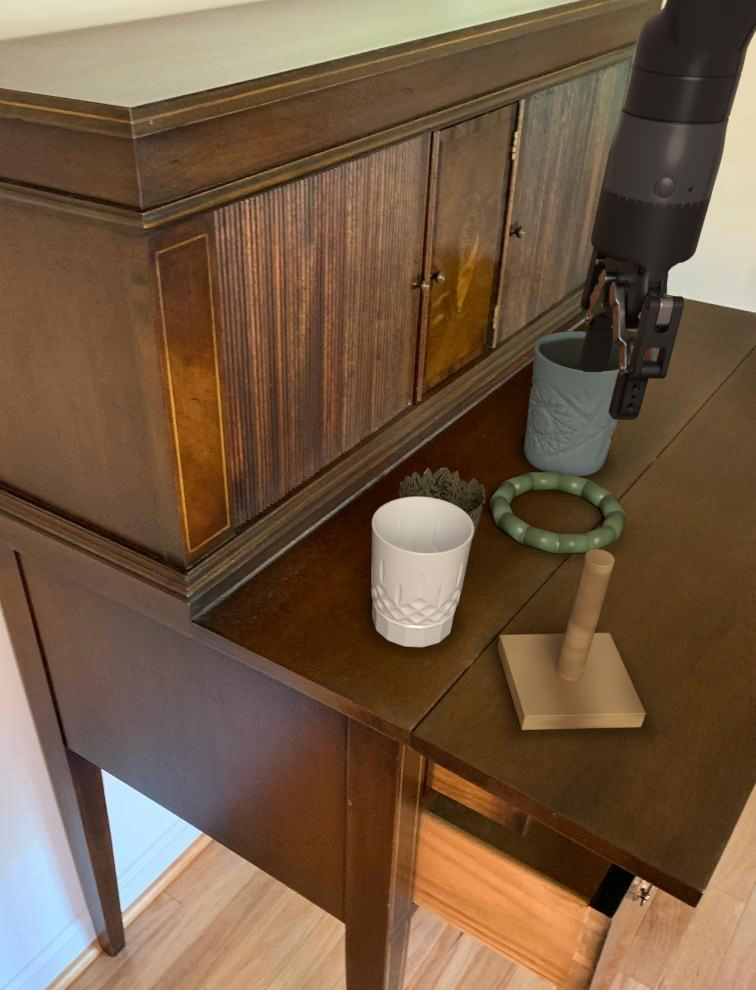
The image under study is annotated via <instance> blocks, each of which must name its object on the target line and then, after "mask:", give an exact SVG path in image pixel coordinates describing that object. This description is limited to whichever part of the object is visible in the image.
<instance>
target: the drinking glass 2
mask: <svg viewBox="0 0 756 990" xmlns="http://www.w3.org/2000/svg"><path fill="white" fill-rule="evenodd" d="M585 336H586V331H582V330H581V331H579V330H578V331H576V330H573V331H572V330H571V331H560V332H555V333H550V334H547V335H545V336H542V337H541V338H539V339H538V340H537V341H536V342H535V344H534V347H533V348H534V349H533V350H534V351H533V362H532V376H531V384H532V386H531V388H530V391H529V392H530V393H529V399H528V410H527V418H526V419H527V420H526V429H525V437H524V446H523V453H524V456H525V458H526V460H527V461H528V462H529V463H530V465H532V466H533V467H535V468H536V469H538V470H540V471H541V472H561V473H565V474H569V475H573V476H577V477H584V476H589V475H592V474H594V473H597V472H598V471H599V470H600V469H602V468H603V466H604V464H605V462H606V459H607V456H608V453H609V450H610V448H611V445H612V436H613V435H614V433H615V430H616V428H617V425H618V422H619V420H614V419H612V417H611V416H610V414H609V406H610V402H611V398H612V394H613V390H614V386H615V382H616V378H617V374H618V372H619V348H618V346H616V345H615V344H614V343H613V344H612V348H611V353H610V357H609V361H608V365H607V368H606V370H605V371H603V372H584V371H582V369H581V367H580V365H579V363H580V359H581V354H582V349H583V345H584V340H585ZM633 347H634V346H631V356H632V352H633Z"/></svg>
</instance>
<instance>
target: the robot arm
mask: <svg viewBox="0 0 756 990" xmlns="http://www.w3.org/2000/svg"><path fill="white" fill-rule="evenodd" d="M755 34H756V0H666V2H665V3H664V6H663V7H662V8H661V9H659V10H657V11H654V12H653V13H651V15H650V16H648V17H647V18H646V19H645V21H644V23H643V24H642V26H641V28H640V30H639V33H638V36H637V38H636V42H635V46H634V50H633V52H632V53H633V54H632V58H631V64H630V67H629V71H628V77H627V81H626V86H625V91H624V96H623V100H622V105H621V106H622V108H621V109H620V114H619V118H618V121H617V124H616V127H615V130H614V132H613V135H612V138H611V142H610V145H609V150H608V152H607V153H608V154H607V158H606V164H605V168H604V173H603V178H602V182H601V187H600V193H599V197H598V202H597V206H596V212H595V216H594V222H593V225H592V231H591V236H590V243H591V246H592V247H593V248H592V252H591V257H590V260H589V265H588V269H587V274H586V279H585V281H584V282H585V283H584V287H583V291H582V295H581V299H580V309H581V310H582V311H586V313H585V316H584V324H585V326H587V328H586V330H585V332H586V336H585V340H584V345H583V349H582V354H581V359H580V363H579V365H580V367H581V369H582V371H584V372H603V371H605V370H606V368H607V365H608V361H609V357H610V353H611V348H612V344H613V343H614V344H615V345H616V346H618V348H619V372H618V374H617V378H616V382H615V386H614V390H613V394H612V398H611V402H610V406H609V414H610V416H611V417H612V419H614V420H618V421H631V420H632V421H633V420H636V419H637V418H638V417H639V415H640V413H641V412H640V411H641V408H642V405H643V400H644V397H645V393H646V390H647V386H648V383H649V379H650V380H651V379H659V380H660V379H661V380H662V379H665V378H666V377H667V374H668V370H669V366H670V362H671V359H672V358H671V357H672V354H673V352H674V351H673V350H674V347H675V343H676V339H677V335H678V332H679V328H680V323H681V320H682V315H683V311H684V308H685V298H684V296H682V295H668V280H669V272H670V270H672V268H674V267H676V266H677V265H678V264H683V263H685V262H687V261H689V260H690V259H692V258H693V256H694V255H695V253H696V251H697V249H698V245H699V241H700V238H701V234H702V231H703V227H704V223H705V220H706V216H707V213H708V210H709V207H710V203H711V199H712V194H713V191H714V187H715V184H716V181H717V177H718V174H719V170H720V166H721V163H722V159H723V155H724V151H725V150H724V149H725V145H726V144H725V143H726V135H727V130H728V125H729V120H730V116H731V113H732V109H733V106H734V102H735V99H736V95H737V92H738V88H739V85H740V81H741V77H742V72H743V69H744V66H745V63H746V62H745V61H746V56H747V52H748V48H749V46H750V44H751V42H752V39H753V38H754V36H755ZM629 330H636V331H629ZM631 347H633V352H632V356H631ZM658 349H659V350H658Z"/></svg>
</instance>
